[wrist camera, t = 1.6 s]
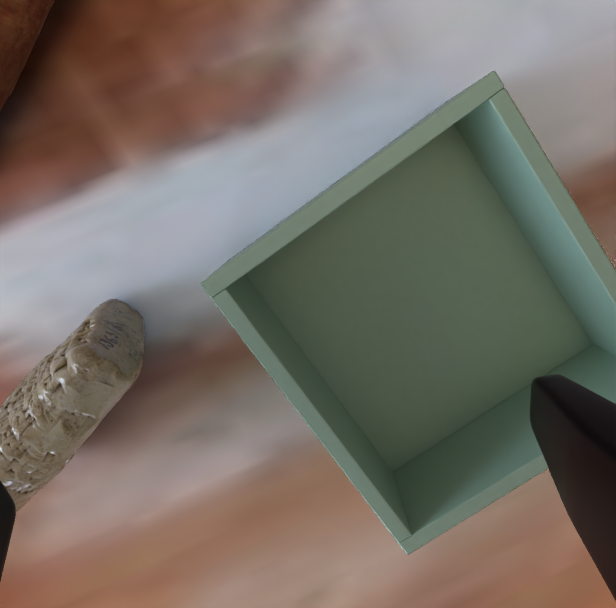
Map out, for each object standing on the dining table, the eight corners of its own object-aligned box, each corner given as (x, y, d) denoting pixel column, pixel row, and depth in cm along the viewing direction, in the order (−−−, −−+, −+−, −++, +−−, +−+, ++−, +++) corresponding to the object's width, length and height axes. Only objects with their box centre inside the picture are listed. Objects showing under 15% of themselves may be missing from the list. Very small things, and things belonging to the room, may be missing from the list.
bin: (601, 341, 23) (685, 383, 18) (386, 479, 25) (407, 556, 19) (449, 99, 21) (494, 69, 16) (224, 263, 23) (199, 284, 18)
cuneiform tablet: (-84, 454, 24) (74, 255, 22) (8, 501, 26) (163, 318, 24) (-199, 582, 18) (12, 315, 16) (-67, 636, 19) (140, 397, 17)
